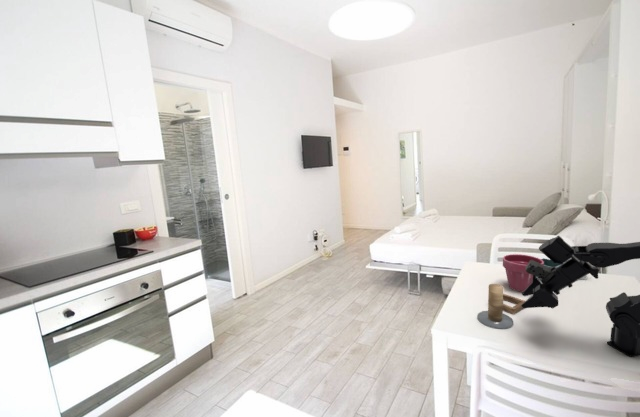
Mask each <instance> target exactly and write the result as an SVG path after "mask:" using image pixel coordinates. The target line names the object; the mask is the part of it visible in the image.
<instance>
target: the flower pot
mask: <svg viewBox="0 0 640 417" xmlns="http://www.w3.org/2000/svg"><path fill="white" fill-rule="evenodd" d="M540 259H541V260H543V262H544V266H546V267H548V268H551V267H553V266H554V267H558V266H560V265H562V264H563V263H561V264H558V263H554V262H553V261H551V260H550V259H549V258H546V257H545V258H540Z"/></svg>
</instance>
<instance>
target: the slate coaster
mask: <svg viewBox="0 0 640 417" xmlns="http://www.w3.org/2000/svg"><path fill="white" fill-rule="evenodd" d="M477 320H478V321H479V322H480V323H481V324H483V325H484V326H486V327H489V328H492V329H498V330H506V329H510V328H513V326H514V319H513V318H512V317H511V316H509V315H507V314H506V313H503V318H502V321H501V322H494V321H491V320H489V319H488V310H482V311H480V312H478V313H477Z"/></svg>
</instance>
